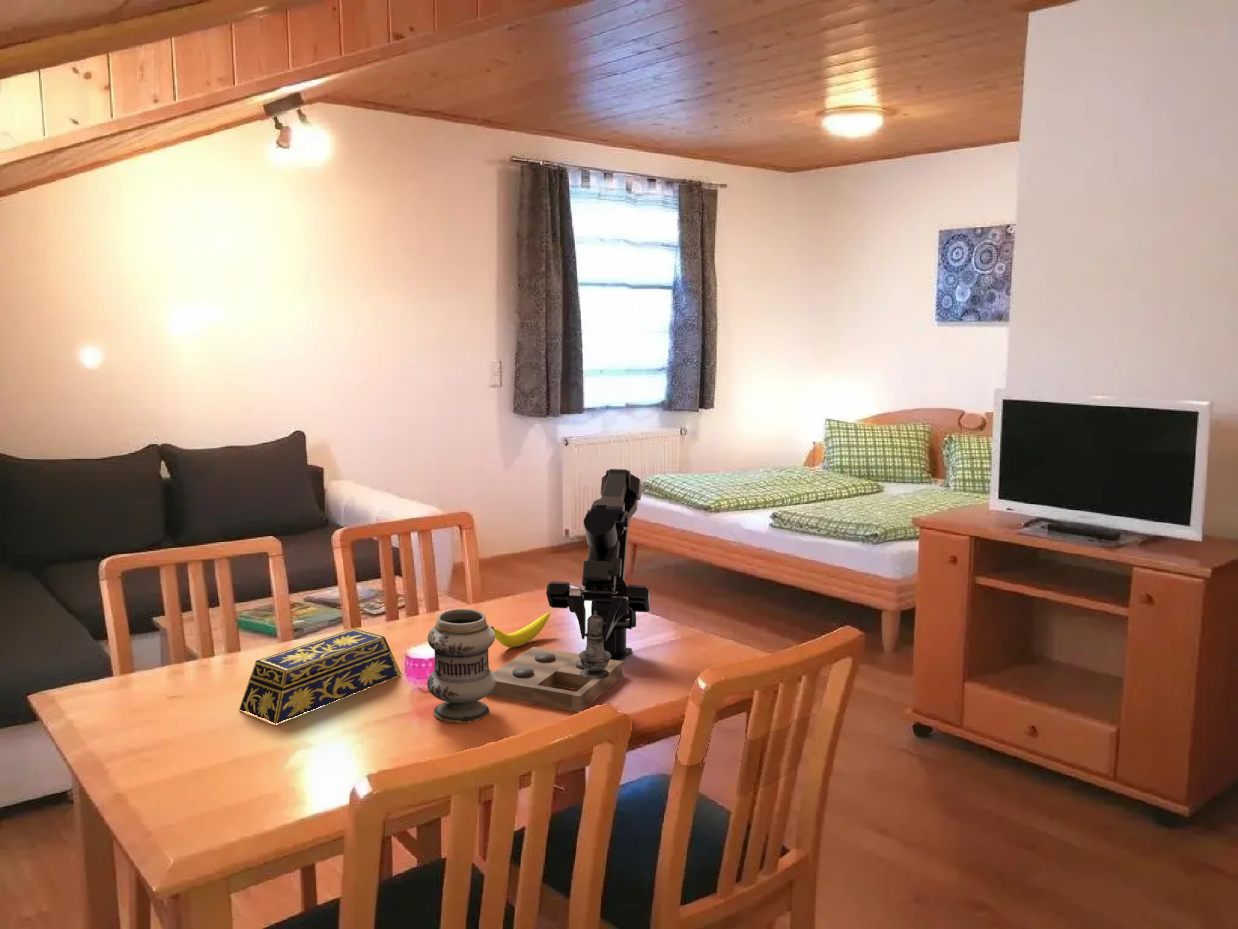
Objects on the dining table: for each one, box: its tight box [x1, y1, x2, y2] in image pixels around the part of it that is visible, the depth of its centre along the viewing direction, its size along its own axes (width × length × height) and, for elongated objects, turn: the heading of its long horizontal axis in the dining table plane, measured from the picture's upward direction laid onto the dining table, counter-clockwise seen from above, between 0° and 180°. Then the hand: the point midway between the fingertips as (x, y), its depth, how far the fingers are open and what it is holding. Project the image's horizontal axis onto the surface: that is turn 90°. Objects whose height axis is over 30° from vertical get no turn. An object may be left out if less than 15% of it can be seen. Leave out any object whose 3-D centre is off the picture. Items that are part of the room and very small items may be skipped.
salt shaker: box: [578, 610, 612, 679], centre depth 179 cm, size 6×6×12 cm
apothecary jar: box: [426, 608, 496, 724], centre depth 176 cm, size 12×12×18 cm
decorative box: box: [238, 628, 403, 724], centre depth 185 cm, size 11×30×9 cm, turn 147°
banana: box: [490, 611, 552, 648], centre depth 213 cm, size 3×19×6 cm, turn 144°
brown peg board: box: [488, 646, 624, 713], centre depth 191 cm, size 20×20×4 cm
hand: (593, 639), depth 178 cm, fingers closed on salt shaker, 4 cm apart
